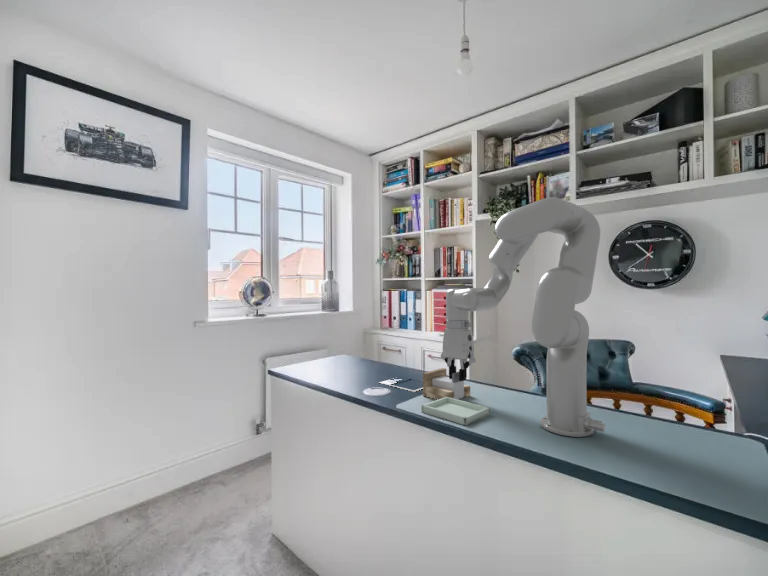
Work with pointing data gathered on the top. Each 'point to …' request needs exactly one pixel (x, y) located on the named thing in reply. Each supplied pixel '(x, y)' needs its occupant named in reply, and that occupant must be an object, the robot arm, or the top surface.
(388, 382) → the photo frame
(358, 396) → the top surface
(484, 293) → the robot arm
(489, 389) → the top surface
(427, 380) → the dock
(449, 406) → the tray
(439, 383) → the white box
